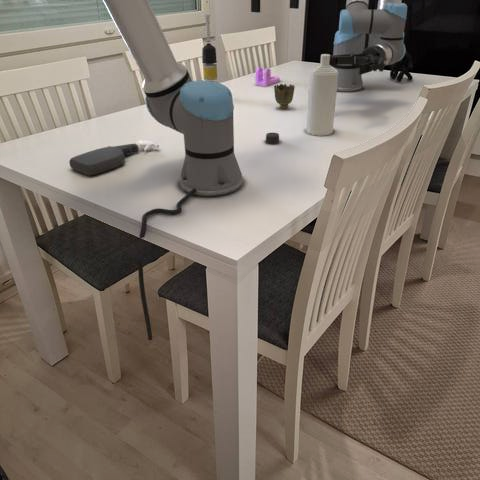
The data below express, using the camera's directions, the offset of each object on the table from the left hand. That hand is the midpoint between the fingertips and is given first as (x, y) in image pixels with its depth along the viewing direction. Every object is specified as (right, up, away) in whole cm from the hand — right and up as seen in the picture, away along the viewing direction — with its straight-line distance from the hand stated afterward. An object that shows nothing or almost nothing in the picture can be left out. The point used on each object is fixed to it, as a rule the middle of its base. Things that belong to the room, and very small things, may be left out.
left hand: (275, 10), depth 116 cm
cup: (+7, -11, +49) cm, 51 cm away
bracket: (+4, +11, +84) cm, 85 cm away
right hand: (+22, -6, +23) cm, 32 cm away
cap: (+1, -29, +18) cm, 34 cm away
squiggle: (+63, +12, +84) cm, 106 cm away
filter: (-21, -3, +63) cm, 66 cm away
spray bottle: (-44, -37, +9) cm, 58 cm away
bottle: (+16, -25, +27) cm, 40 cm away
